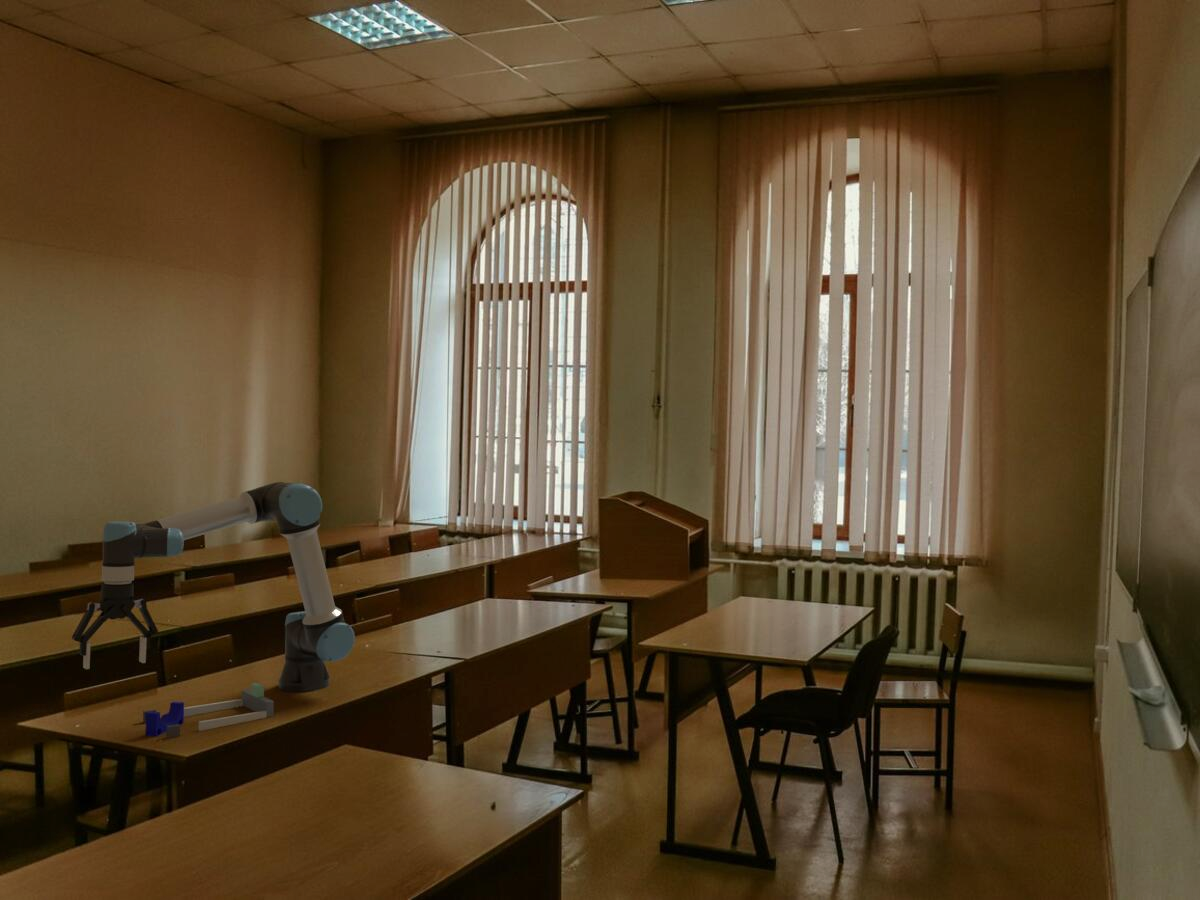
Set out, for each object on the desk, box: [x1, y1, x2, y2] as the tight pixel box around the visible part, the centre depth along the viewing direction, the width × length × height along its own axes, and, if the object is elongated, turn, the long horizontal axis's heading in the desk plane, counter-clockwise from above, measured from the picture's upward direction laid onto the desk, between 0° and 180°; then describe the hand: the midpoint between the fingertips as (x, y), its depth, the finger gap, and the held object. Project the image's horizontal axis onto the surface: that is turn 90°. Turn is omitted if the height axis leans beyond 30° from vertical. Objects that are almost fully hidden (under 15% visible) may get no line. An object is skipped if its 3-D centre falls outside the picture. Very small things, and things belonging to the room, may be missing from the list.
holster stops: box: [142, 709, 181, 740], centre depth 270 cm, size 3×20×3 cm, turn 41°
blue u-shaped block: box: [145, 701, 185, 738], centre depth 270 cm, size 12×4×6 cm, turn 169°
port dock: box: [184, 682, 275, 732], centre depth 281 cm, size 20×17×8 cm
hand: (114, 665), depth 262 cm, fingers open, 13 cm apart
